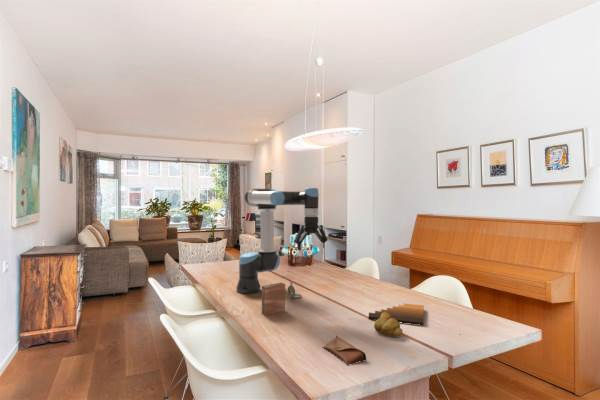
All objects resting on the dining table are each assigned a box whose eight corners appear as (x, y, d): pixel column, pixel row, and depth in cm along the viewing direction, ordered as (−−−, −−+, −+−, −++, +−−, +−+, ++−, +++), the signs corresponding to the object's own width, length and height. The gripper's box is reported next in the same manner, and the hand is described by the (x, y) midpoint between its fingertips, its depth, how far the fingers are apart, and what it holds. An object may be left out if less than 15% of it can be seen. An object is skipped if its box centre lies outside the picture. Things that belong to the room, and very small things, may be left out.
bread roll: (407, 337, 147) (407, 318, 147) (390, 341, 142) (390, 322, 142) (386, 327, 158) (386, 309, 158) (369, 330, 154) (369, 312, 154)
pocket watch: (303, 296, 207) (303, 279, 207) (298, 300, 199) (298, 282, 199) (290, 295, 210) (290, 278, 210) (285, 298, 202) (285, 281, 202)
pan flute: (368, 320, 168) (423, 327, 159) (368, 313, 168) (423, 320, 159) (375, 305, 191) (423, 310, 183) (375, 299, 191) (423, 304, 183)
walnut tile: (261, 313, 176) (261, 285, 176) (281, 308, 183) (281, 282, 183) (265, 315, 173) (265, 287, 173) (285, 310, 180) (285, 283, 180)
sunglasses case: (319, 346, 137) (327, 330, 138) (332, 352, 140) (339, 336, 141) (348, 366, 121) (356, 347, 123) (361, 372, 124) (369, 354, 126)
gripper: (295, 217, 178) (294, 258, 179) (333, 216, 191) (333, 254, 192) (287, 216, 185) (287, 256, 185) (325, 215, 198) (325, 252, 198)
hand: (311, 255), depth 188 cm, fingers open, 13 cm apart
